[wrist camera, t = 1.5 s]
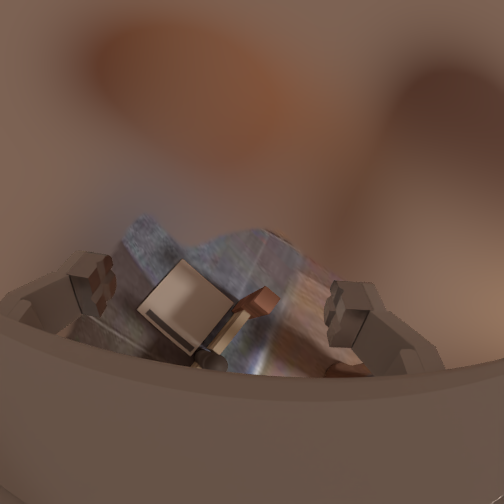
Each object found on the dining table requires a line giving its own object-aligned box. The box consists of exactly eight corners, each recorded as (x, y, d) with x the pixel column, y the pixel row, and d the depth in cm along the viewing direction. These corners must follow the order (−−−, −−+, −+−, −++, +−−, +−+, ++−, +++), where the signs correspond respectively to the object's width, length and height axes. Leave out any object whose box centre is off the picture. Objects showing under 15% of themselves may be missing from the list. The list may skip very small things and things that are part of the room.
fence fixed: (155, 427, 35) (152, 458, 24) (141, 417, 35) (133, 445, 24) (214, 356, 41) (232, 363, 30) (201, 346, 41) (214, 349, 30)
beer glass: (314, 384, 44) (369, 395, 31) (335, 352, 47) (392, 352, 34) (340, 402, 45) (396, 415, 31) (358, 371, 47) (416, 374, 34)
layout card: (190, 356, 40) (190, 356, 40) (136, 309, 40) (136, 309, 40) (233, 303, 45) (234, 303, 45) (182, 259, 45) (182, 258, 44)
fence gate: (215, 355, 41) (233, 361, 30) (203, 345, 41) (216, 348, 30) (251, 309, 45) (280, 298, 34) (240, 299, 45) (265, 285, 34)
